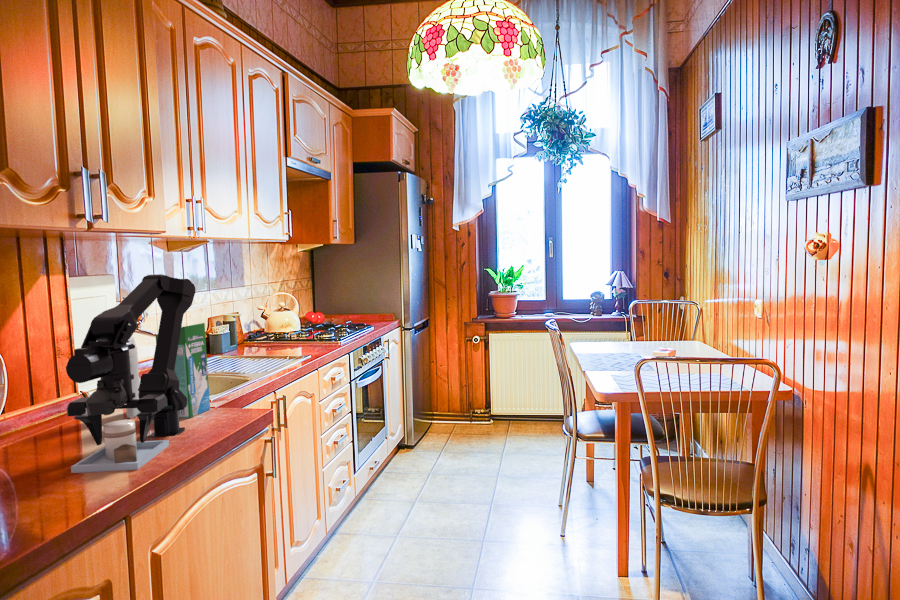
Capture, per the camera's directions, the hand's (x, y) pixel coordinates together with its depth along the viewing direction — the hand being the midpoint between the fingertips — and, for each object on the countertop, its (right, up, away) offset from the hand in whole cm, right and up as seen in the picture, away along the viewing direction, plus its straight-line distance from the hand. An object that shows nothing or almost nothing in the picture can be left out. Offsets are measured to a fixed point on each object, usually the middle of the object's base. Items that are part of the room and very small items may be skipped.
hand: (121, 443), depth 127 cm
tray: (+2, -3, -2) cm, 4 cm away
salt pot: (+4, -3, -6) cm, 8 cm away
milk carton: (-2, -1, +36) cm, 36 cm away
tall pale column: (-17, -1, +37) cm, 41 cm away
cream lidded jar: (0, -3, 0) cm, 3 cm away
